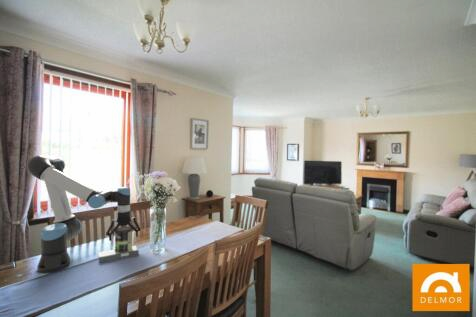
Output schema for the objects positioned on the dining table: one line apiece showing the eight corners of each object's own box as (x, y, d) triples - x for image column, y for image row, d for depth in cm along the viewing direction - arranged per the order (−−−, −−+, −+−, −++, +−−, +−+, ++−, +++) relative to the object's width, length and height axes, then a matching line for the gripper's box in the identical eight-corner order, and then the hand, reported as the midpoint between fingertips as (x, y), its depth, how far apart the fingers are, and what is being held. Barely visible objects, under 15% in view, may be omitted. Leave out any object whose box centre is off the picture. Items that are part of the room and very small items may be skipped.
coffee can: (119, 255, 147) (119, 232, 147) (111, 250, 154) (111, 229, 153) (135, 249, 156) (135, 228, 155) (127, 245, 162) (127, 225, 161)
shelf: (98, 263, 141) (98, 257, 141) (98, 255, 152) (98, 250, 152) (138, 255, 153) (138, 250, 152) (135, 248, 163) (135, 243, 163)
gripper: (101, 214, 144) (101, 249, 145) (145, 210, 157) (145, 242, 158) (101, 212, 151) (101, 245, 151) (143, 207, 163) (143, 238, 164)
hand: (123, 243), depth 154 cm, fingers open, 13 cm apart
